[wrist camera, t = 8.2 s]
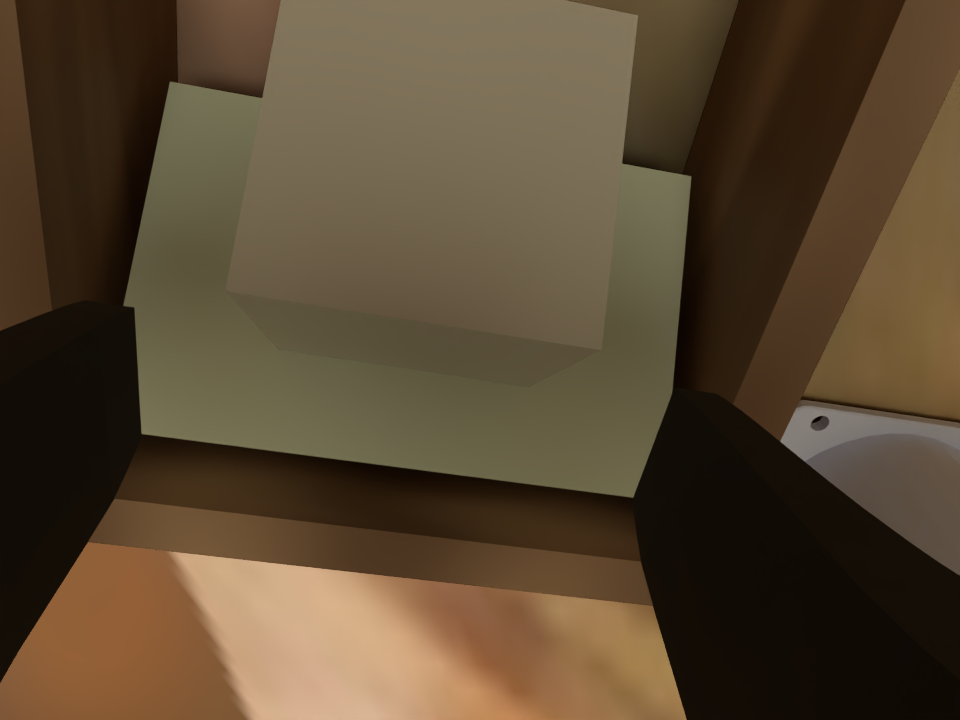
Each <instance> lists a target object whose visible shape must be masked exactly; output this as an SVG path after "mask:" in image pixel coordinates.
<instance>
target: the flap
mask: <svg viewBox="0 0 960 720" xmlns="http://www.w3.org/2000/svg"><path fill="white" fill-rule="evenodd" d="M261 102H262V98H258V97H253V96H247V95H242V94H236V93H231V92H225V91H220V90H214V89H209V88H203V87H198V86H192V85H187V84H181V83H176V82H170V84H169V89H168V94H167V98H166V103H165V108H164V113H163V118H162V122H161V127H160V132H159V137H158V142H157V147H156V151H155V156H154V161H153V166H152V171H151V175H150V180H149V185H148V190H147V195H146V199H145V204H144V209H143V214H142V219H141V223H140V228H139V233H138V238H137V243H136V248H135V252H134V257H133V262H132V267H131V272H130V276H129V281H128V286H127V291H126V296H125V300H124V305H123V306H128V307H134V310H135V327H136V345H137V363H138V380H139V398H140V416H141V433H142V434H146V435H154V436H161V437H169V438H177V439H185V440H192V441H200V442H208V443H215V444H223V445H231V446H239V447H246V448H254V449H262V450H269V451H277V452H285V453H293V454H300V455H308V456H316V457H323V458H331V459H339V460H347V461H354V462H362V463H370V464H377V465H385V466H393V467H401V468H408V469H416V470H424V471H431V472H439V473H447V474H455V475H462V476H470V477H478V478H485V479H493V480H501V481H509V482H516V483H524V484H532V485H539V486H547V487H555V488H563V489H570V490H578V491H586V492H593V493H601V494H609V495H617V496H624V497H632V498H633V497H634V494H635V491H636V489H637V486H638V483H639V481H640V478H641V475H642V473H643V470H644V467H645V465H646V462H647V459H648V457H649V454H650V451H651V449H652V446H653V443H654V441H655V438H656V435H657V433H658V430H659V427H660V425H661V422H662V419H663V417H664V414H665V411H666V409H667V406H668V403H669V401H670V398H671V395H672V389H673V378H674V367H675V356H676V344H677V333H678V322H679V310H680V299H681V288H682V277H683V265H684V254H685V243H686V232H687V220H688V209H689V198H690V187H691V176H687V175H681V174H676V173H670V172H665V171H659V170H654V169H648V168H643V167H638V166H632V165H627V164H622V168H621V177H620V186H619V195H618V205H617V214H616V223H615V232H614V241H613V250H612V260H611V269H610V278H609V287H608V296H607V305H606V314H605V324H604V333H603V342H602V350H601V351H599V352H597V353H595V354H593V355H591V356H589V357H587V358H585V359H583V360H581V361H579V362H577V363H575V364H573V365H571V366H570V367H568V368H566V369H564V370H562V371H560V372H558V373H556V374H554V375H552V376H550V377H548V378H546V379H544V380H542V381H540V382H538V383H536V384H534V385H532V386H530V387H525V386H518V385H512V384H505V383H498V382H492V381H485V380H478V379H472V378H465V377H458V376H452V375H445V374H438V373H432V372H425V371H418V370H411V369H405V368H398V367H391V366H385V365H378V364H371V363H365V362H358V361H351V360H345V359H338V358H331V357H325V356H318V355H311V354H304V353H298V352H291V351H284V350H279V349H278V348H277V347H276V346H275V345H274V344H273V343H272V342H271V341H270V340H269V339H268V337H267V336H266V335H265V334H264V333H263V332H262V331H261V330H260V329H259V328H258V326H257V325H256V324H255V323H254V322H253V321H252V320H251V319H250V318H249V317H248V316H247V314H246V313H245V312H244V311H243V310H242V309H241V308H240V307H239V306H238V305H237V303H236V302H235V301H234V300H233V299H232V298H231V297H230V296H229V295H228V294H227V293H226V291H225V289H226V284H227V279H228V274H229V268H230V263H231V258H232V253H233V248H234V242H235V237H236V232H237V227H238V222H239V216H240V211H241V206H242V201H243V196H244V190H245V185H246V180H247V175H248V169H249V164H250V159H251V154H252V149H253V143H254V138H255V133H256V128H257V123H258V117H259V112H260V107H261Z"/></svg>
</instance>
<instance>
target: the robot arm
mask: <svg viewBox="0 0 960 720" xmlns="http://www.w3.org/2000/svg"><path fill="white" fill-rule="evenodd" d="M818 416H823V417H822V418H821V420H820V421H818V422H816V423H811V422H812V421H813V420H814V418H816V417H818ZM141 437H142V433H141V416H140V398H139V380H138V363H137V345H136V327H135V310H134V307H128V306H121V305H114V304H108V303H101V302H94V301H87V300H83V301H80V302H76V303H73V304H69V305H66V306H63V307H60V308H58V309H55V310H52V311H49V312H47V313H44V314H41V315H39V316H36V317H34V318H31V319H29V320H26V321H23V322H21V323H18V324H16V325H13V326H11V327H8V328H6V329H3V330H1V331H0V682H1V681H2V679H3V677H4V675H5V674H6V672H7V670H8V668H9V667H10V665H11V663H12V662H13V659H14V658H15V656H16V655H17V653H18V651H19V650H20V648H21V646H22V645H23V643H24V642H25V640H26V638H27V637H28V635H29V634H30V632H31V631H32V629H33V627H34V626H35V624H36V623H37V621H38V620H39V618H40V616H41V615H42V613H43V612H44V610H45V609H46V607H47V605H48V604H49V602H50V601H51V599H52V598H53V596H54V594H55V593H56V591H57V590H58V588H59V587H60V585H61V584H62V582H63V580H64V579H65V577H66V576H67V574H68V572H69V571H70V569H71V568H72V566H73V565H74V563H75V562H76V560H77V558H78V557H79V555H80V554H81V552H82V551H83V549H84V547H85V546H86V544H87V543H88V541H89V539H90V538H91V536H92V534H93V533H94V531H95V530H96V528H97V526H98V525H99V523H100V522H101V520H102V518H103V517H104V515H105V514H106V512H107V510H108V509H109V507H110V505H111V504H112V502H113V500H114V498H115V496H116V494H117V492H118V489H119V487H120V485H121V483H122V481H123V479H124V477H125V474H126V472H127V470H128V468H129V465H130V463H131V461H132V458H133V456H134V454H135V451H136V449H137V447H138V444H139V442H140V440H141ZM632 502H633V510H634V518H635V526H636V534H637V540H638V546H639V553H640V559H641V565H642V568H643V572H644V576H645V579H646V583H647V586H648V590H649V593H650V597H651V600H652V604H653V607H654V611H655V614H656V618H657V621H658V624H659V628H660V631H661V634H662V638H663V641H664V644H665V648H666V651H667V654H668V658H669V661H670V665H671V668H672V671H673V675H674V678H675V681H676V685H677V688H678V691H679V695H680V698H681V702H682V705H683V708H684V712H685V715H686V719H687V720H960V423H957V422H950V421H943V420H937V419H930V418H923V417H917V416H910V415H903V414H896V413H890V412H883V411H876V410H870V409H863V408H856V407H849V406H843V405H836V404H829V403H823V402H816V401H809V400H800V401H799V403H798V406H797V408H796V410H795V412H794V414H793V416H792V418H791V420H790V422H789V424H788V426H787V428H786V431H785V433H784V435H783V437H782V439H781V441H779V440H778V439H776V438H775V437H774V436H773V435H772V434H770V433H769V432H768V431H767V430H765V429H764V428H763V427H762V426H760V425H759V424H758V423H757V422H755V421H754V420H753V419H752V418H750V417H749V416H748V415H746V414H745V413H744V412H743V411H741V410H740V409H739V408H737V407H736V406H735V405H733V404H732V403H730V402H729V401H727V400H726V399H724V398H723V397H721V396H720V395H718V394H716V393H709V392H702V391H696V390H689V389H682V388H675V387H674V390H673V393H672V395H671V398H670V401H669V403H668V406H667V409H666V411H665V414H664V417H663V419H662V422H661V425H660V427H659V430H658V433H657V435H656V438H655V441H654V443H653V446H652V449H651V451H650V454H649V457H648V459H647V462H646V465H645V467H644V470H643V473H642V475H641V478H640V481H639V483H638V486H637V489H636V491H635V494H634V497H633V499H632Z"/></svg>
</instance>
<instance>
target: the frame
mask: <svg viewBox="0 0 960 720" xmlns="http://www.w3.org/2000/svg"><path fill="white" fill-rule="evenodd" d="M959 69H960V0H740V1H739V4H738V7H737V10H736V13H735V16H734V19H733V22H732V25H731V28H730V31H729V35H728V38H727V41H726V44H725V47H724V50H723V53H722V56H721V59H720V62H719V65H718V68H717V71H716V74H715V77H714V81H713V84H712V87H711V90H710V93H709V96H708V99H707V102H706V105H705V108H704V111H703V114H702V117H701V120H700V124H699V127H698V130H697V133H696V136H695V139H694V142H693V145H692V148H691V151H690V154H689V157H688V160H687V163H686V167H685V170H684V173H683V175H687V176H691V187H690V198H689V209H688V220H687V232H686V243H685V254H684V265H683V277H682V288H681V299H680V310H679V322H678V333H677V344H676V356H675V367H674V378H673V389H672V393H673V390H674V387H675V388H682V389H689V390H696V391H702V392H709V393H716V394H718V395H720V396H721V397H723V398H724V399H726V400H727V401H729V402H730V403H732V404H733V405H735V406H736V407H737V408H739V409H740V410H741V411H743V412H744V413H745V414H746V415H748V416H749V417H750V418H752V419H753V420H754V421H755V422H757V423H758V424H759V425H760V426H762V427H763V428H764V429H765V430H767V431H768V432H769V433H770V434H772V435H773V436H774V437H775V438H776V439H778V440H779V441H781V439H782V437H783V435H784V433H785V431H786V428H787V426H788V424H789V422H790V420H791V418H792V416H793V414H794V412H795V410H796V408H797V406H798V403H799V401H800V399H801V397H802V395H803V393H804V391H805V389H806V387H807V385H808V383H809V381H810V379H811V376H812V374H813V372H814V370H815V368H816V366H817V364H818V362H819V360H820V358H821V356H822V354H823V352H824V349H825V347H826V345H827V343H828V341H829V339H830V337H831V335H832V333H833V331H834V329H835V327H836V324H837V322H838V320H839V318H840V316H841V314H842V312H843V310H844V308H845V306H846V304H847V302H848V300H849V297H850V295H851V293H852V291H853V289H854V287H855V285H856V283H857V281H858V279H859V277H860V275H861V273H862V270H863V268H864V266H865V264H866V262H867V260H868V258H869V256H870V254H871V252H872V250H873V248H874V245H875V243H876V241H877V239H878V237H879V235H880V233H881V231H882V229H883V227H884V225H885V223H886V221H887V218H888V216H889V214H890V212H891V210H892V208H893V206H894V204H895V202H896V200H897V198H898V196H899V194H900V191H901V189H902V187H903V185H904V183H905V181H906V179H907V177H908V175H909V173H910V171H911V169H912V166H913V164H914V162H915V160H916V158H917V156H918V154H919V152H920V150H921V148H922V146H923V144H924V142H925V139H926V137H927V135H928V133H929V131H930V129H931V127H932V125H933V123H934V121H935V119H936V117H937V115H938V112H939V110H940V108H941V106H942V104H943V102H944V100H945V98H946V96H947V94H948V92H949V90H950V87H951V85H952V83H953V81H954V79H955V77H956V75H957V73H958V71H959ZM170 82H176V83H178V81H177V32H176V0H0V331H1V330H3V329H6V328H8V327H11V326H13V325H16V324H18V323H21V322H23V321H26V320H29V319H31V318H34V317H36V316H39V315H41V314H44V313H47V312H49V311H52V310H55V309H58V308H60V307H63V306H66V305H69V304H73V303H76V302H80V301H83V300H87V301H94V302H101V303H108V304H114V305H121V306H123V305H124V300H125V296H126V291H127V286H128V281H129V276H130V272H131V267H132V262H133V257H134V252H135V248H136V243H137V238H138V233H139V228H140V223H141V219H142V214H143V209H144V204H145V199H146V195H147V190H148V185H149V180H150V175H151V171H152V166H153V161H154V156H155V151H156V147H157V142H158V137H159V132H160V127H161V122H162V118H163V113H164V108H165V103H166V98H167V94H168V89H169V84H170ZM632 499H633V498H632V497H624V496H617V495H609V494H601V493H593V492H586V491H578V490H570V489H563V488H555V487H547V486H539V485H532V484H524V483H516V482H509V481H501V480H493V479H485V478H478V477H470V476H462V475H455V474H447V473H439V472H431V471H424V470H416V469H408V468H401V467H393V466H385V465H377V464H370V463H362V462H354V461H347V460H339V459H331V458H323V457H316V456H308V455H300V454H293V453H285V452H277V451H269V450H262V449H254V448H246V447H239V446H231V445H223V444H215V443H208V442H200V441H192V440H185V439H177V438H169V437H161V436H154V435H146V434H142V437H141V440H140V442H139V444H138V447H137V449H136V451H135V454H134V456H133V458H132V461H131V463H130V465H129V468H128V470H127V472H126V474H125V477H124V479H123V481H122V483H121V485H120V487H119V489H118V492H117V494H116V496H115V498H114V500H113V502H112V504H111V505H110V507H109V509H108V510H107V512H106V514H105V515H104V517H103V518H102V520H101V522H100V523H99V525H98V526H97V528H96V530H95V531H94V533H93V534H92V536H91V538H90V539H89V541H88V542H92V543H101V544H110V545H119V546H127V547H137V548H145V549H154V550H163V551H172V552H181V553H189V554H198V555H207V556H216V557H225V558H234V559H243V560H251V561H260V562H269V563H278V564H287V565H296V566H305V567H313V568H322V569H331V570H340V571H349V572H358V573H367V574H375V575H384V576H393V577H402V578H411V579H420V580H429V581H437V582H446V583H455V584H464V585H473V586H482V587H491V588H499V589H508V590H517V591H526V592H535V593H544V594H553V595H561V596H570V597H579V598H588V599H597V600H606V601H615V602H623V603H632V604H641V605H650V606H653V604H652V600H651V597H650V593H649V590H648V586H647V583H646V579H645V576H644V572H643V568H642V565H641V559H640V553H639V546H638V540H637V534H636V526H635V518H634V510H633V502H632Z"/></svg>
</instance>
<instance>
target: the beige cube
mask: <svg viewBox="0 0 960 720" xmlns="http://www.w3.org/2000/svg"><path fill="white" fill-rule="evenodd" d="M637 22H638V15H633V14H629V13H624V12H619V11H614V10H610V9H605V8H600V7H595V6H591V5H586V4H581V3H576V2H572V1H567V0H281V3H280V8H279V13H278V18H277V24H276V29H275V34H274V39H273V44H272V50H271V55H270V60H269V65H268V71H267V76H266V81H265V86H264V91H263V97H262V102H261V107H260V112H259V117H258V123H257V128H256V133H255V138H254V143H253V149H252V154H251V159H250V164H249V169H248V175H247V180H246V185H245V190H244V196H243V201H242V206H241V211H240V216H239V222H238V227H237V232H236V237H235V242H234V248H233V253H232V258H231V263H230V268H229V274H228V279H227V284H226V289H225V291H226V293H227V294H228V295H229V296H230V297H231V298H232V299H233V300H234V301H235V302H236V303H237V305H238V306H239V307H240V308H241V309H242V310H243V311H244V312H245V313H246V314H247V316H248V317H249V318H250V319H251V320H252V321H253V322H254V323H255V324H256V325H257V326H258V328H259V329H260V330H261V331H262V332H263V333H264V334H265V335H266V336H267V337H268V339H269V340H270V341H271V342H272V343H273V344H274V345H275V346H276V347H277V348H278V349H279V350H284V351H291V352H298V353H304V354H311V355H318V356H325V357H331V358H338V359H345V360H351V361H358V362H365V363H371V364H378V365H385V366H391V367H398V368H405V369H411V370H418V371H425V372H432V373H438V374H445V375H452V376H458V377H465V378H472V379H478V380H485V381H492V382H498V383H505V384H512V385H518V386H525V387H530V386H532V385H534V384H536V383H538V382H540V381H542V380H544V379H546V378H548V377H550V376H552V375H554V374H556V373H558V372H560V371H562V370H564V369H566V368H568V367H570V366H571V365H573V364H575V363H577V362H579V361H581V360H583V359H585V358H587V357H589V356H591V355H593V354H595V353H597V352H599V351H601V350H602V342H603V333H604V324H605V314H606V305H607V296H608V287H609V278H610V269H611V260H612V250H613V241H614V232H615V223H616V214H617V205H618V195H619V186H620V177H621V168H622V159H623V150H624V141H625V131H626V122H627V113H628V104H629V95H630V86H631V77H632V67H633V58H634V49H635V40H636V31H637Z"/></svg>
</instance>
